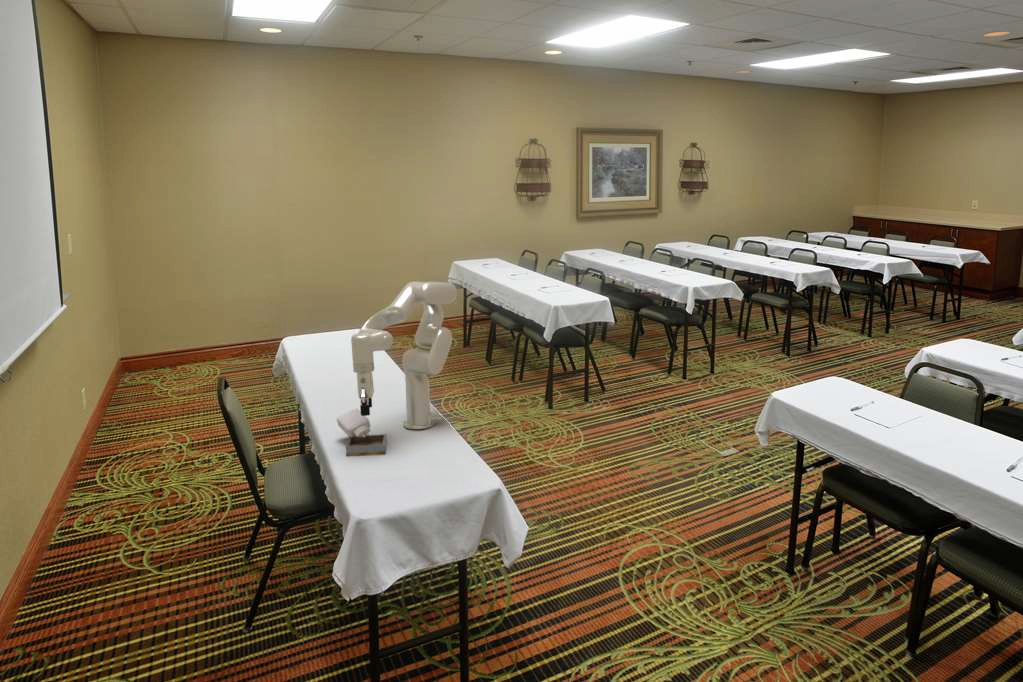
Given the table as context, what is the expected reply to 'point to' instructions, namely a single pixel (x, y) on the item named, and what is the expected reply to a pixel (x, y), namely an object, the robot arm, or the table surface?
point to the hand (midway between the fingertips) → (366, 411)
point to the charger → (354, 423)
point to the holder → (366, 445)
